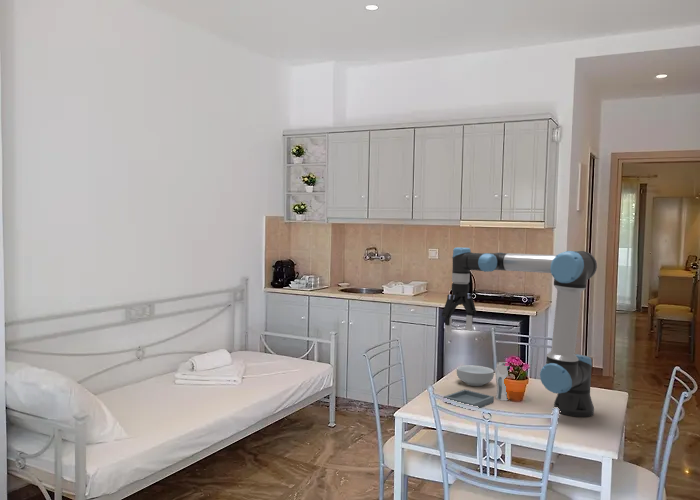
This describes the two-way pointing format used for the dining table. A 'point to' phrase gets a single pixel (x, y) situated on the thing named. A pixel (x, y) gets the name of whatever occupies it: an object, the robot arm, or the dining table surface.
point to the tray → (471, 398)
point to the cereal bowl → (475, 374)
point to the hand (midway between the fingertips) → (458, 331)
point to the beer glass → (501, 380)
